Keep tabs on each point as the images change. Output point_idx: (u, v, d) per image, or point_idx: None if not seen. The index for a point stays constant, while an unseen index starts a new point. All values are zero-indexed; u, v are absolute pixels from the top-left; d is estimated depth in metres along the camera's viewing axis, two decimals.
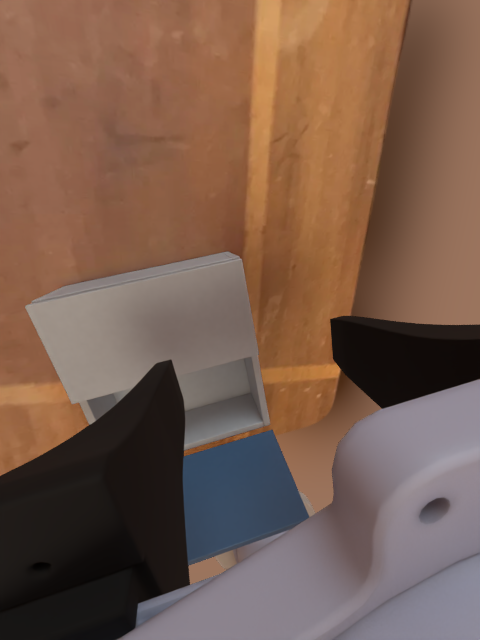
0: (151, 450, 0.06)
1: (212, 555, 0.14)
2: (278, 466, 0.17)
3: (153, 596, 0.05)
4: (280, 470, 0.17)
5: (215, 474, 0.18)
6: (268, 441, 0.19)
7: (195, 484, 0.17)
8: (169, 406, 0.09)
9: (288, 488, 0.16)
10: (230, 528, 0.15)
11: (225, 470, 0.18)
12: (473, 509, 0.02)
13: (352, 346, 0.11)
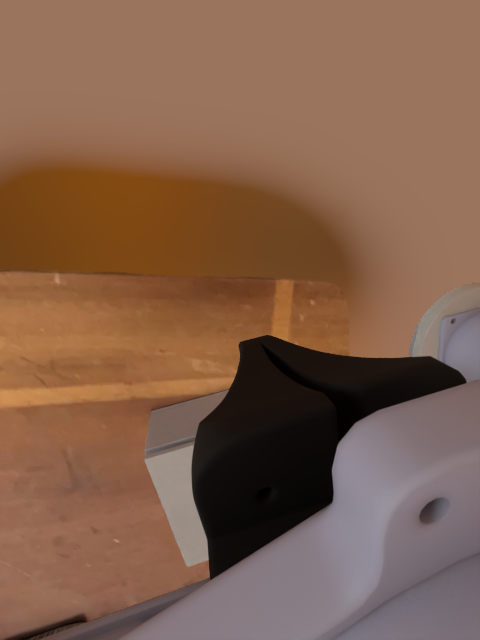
0: None
1: None
2: None
3: None
4: None
5: None
6: None
7: None
8: None
9: None
10: None
11: None
12: (472, 509, 0.02)
13: None
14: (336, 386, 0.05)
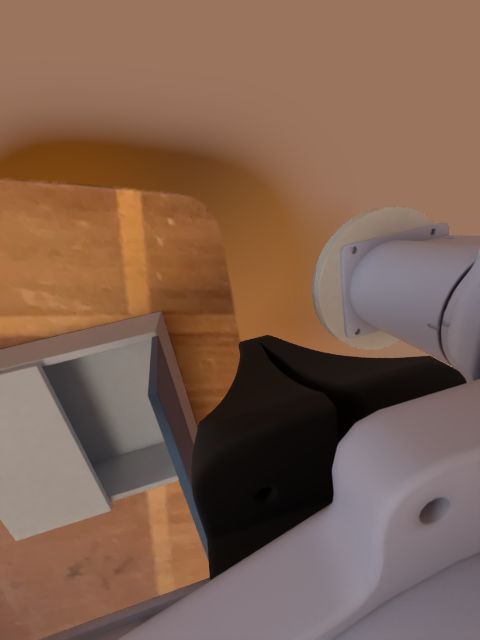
0: None
1: (189, 494, 0.12)
2: None
3: None
4: None
5: None
6: None
7: None
8: None
9: None
10: None
11: None
12: (472, 509, 0.02)
13: None
14: (336, 386, 0.05)
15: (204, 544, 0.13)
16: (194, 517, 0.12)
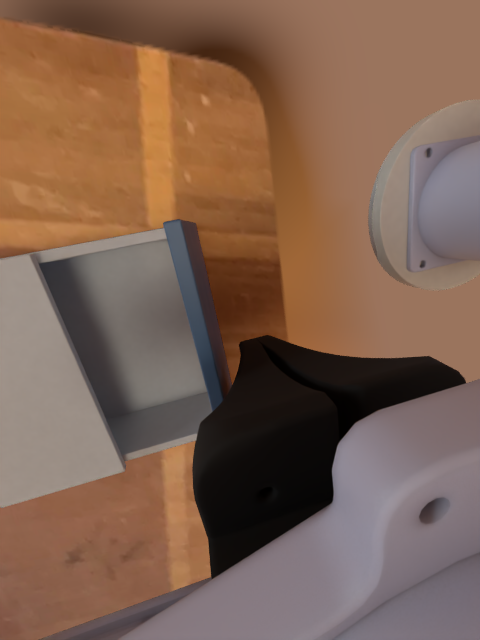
0: None
1: None
2: None
3: None
4: None
5: None
6: None
7: None
8: None
9: None
10: None
11: None
12: (472, 509, 0.02)
13: None
14: (335, 386, 0.05)
15: None
16: None
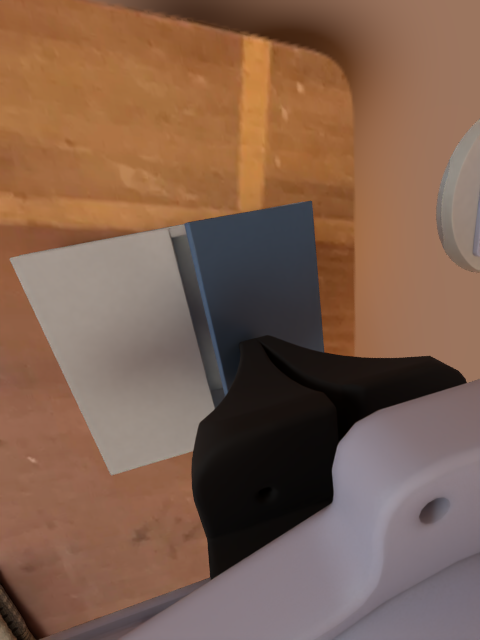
0: None
1: (218, 360, 0.11)
2: None
3: None
4: None
5: None
6: None
7: None
8: None
9: None
10: None
11: None
12: (472, 509, 0.02)
13: None
14: (336, 386, 0.05)
15: None
16: (223, 388, 0.12)
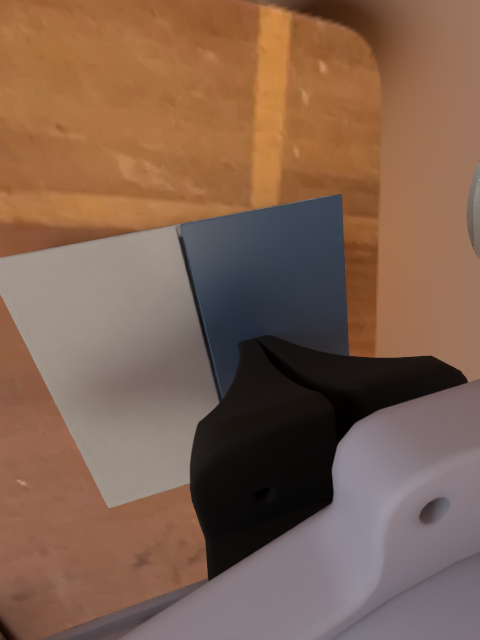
0: None
1: (212, 357, 0.11)
2: None
3: None
4: None
5: None
6: None
7: None
8: None
9: None
10: None
11: None
12: (473, 509, 0.02)
13: None
14: (337, 386, 0.05)
15: None
16: None
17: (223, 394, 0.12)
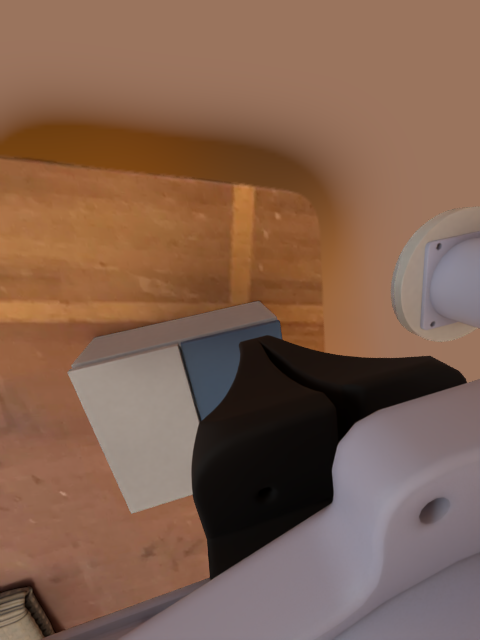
0: None
1: None
2: None
3: None
4: None
5: None
6: None
7: None
8: None
9: None
10: None
11: None
12: (472, 509, 0.02)
13: None
14: (336, 386, 0.05)
15: None
16: None
17: None
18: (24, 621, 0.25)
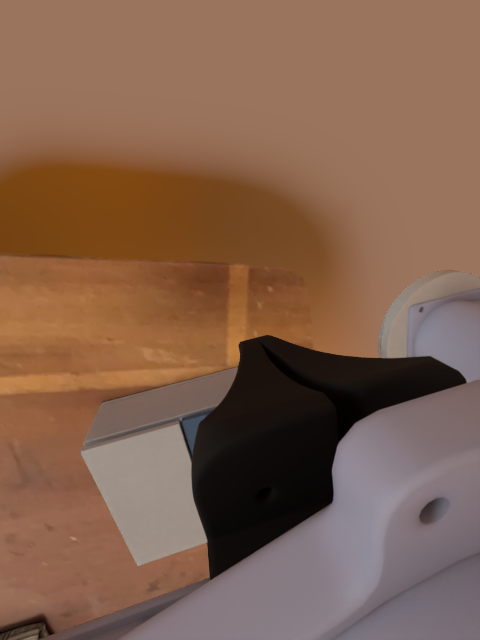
0: None
1: None
2: None
3: None
4: None
5: None
6: None
7: None
8: None
9: None
10: None
11: None
12: (472, 509, 0.02)
13: None
14: (336, 386, 0.05)
15: None
16: None
17: None
18: None
